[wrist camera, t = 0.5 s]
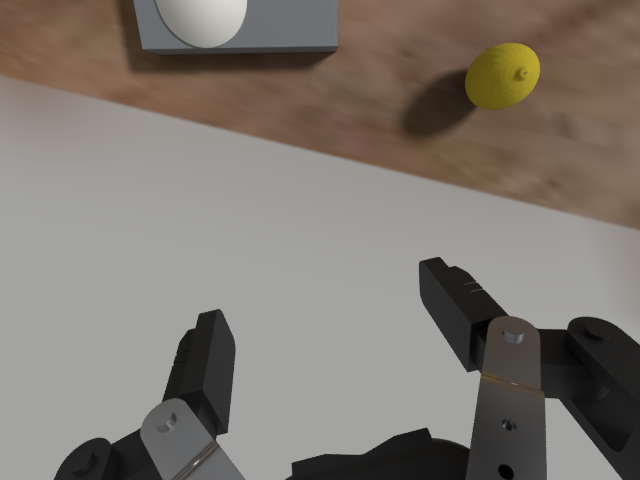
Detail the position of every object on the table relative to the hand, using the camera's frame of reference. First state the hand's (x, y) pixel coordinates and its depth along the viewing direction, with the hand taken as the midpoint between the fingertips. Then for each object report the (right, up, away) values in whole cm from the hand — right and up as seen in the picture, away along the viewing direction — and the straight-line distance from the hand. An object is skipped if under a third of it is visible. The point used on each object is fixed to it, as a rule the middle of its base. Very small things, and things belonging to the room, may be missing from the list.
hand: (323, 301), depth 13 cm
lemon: (+16, +19, +21) cm, 33 cm away
